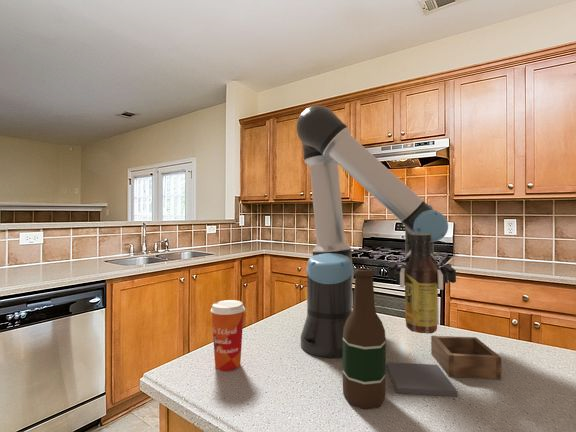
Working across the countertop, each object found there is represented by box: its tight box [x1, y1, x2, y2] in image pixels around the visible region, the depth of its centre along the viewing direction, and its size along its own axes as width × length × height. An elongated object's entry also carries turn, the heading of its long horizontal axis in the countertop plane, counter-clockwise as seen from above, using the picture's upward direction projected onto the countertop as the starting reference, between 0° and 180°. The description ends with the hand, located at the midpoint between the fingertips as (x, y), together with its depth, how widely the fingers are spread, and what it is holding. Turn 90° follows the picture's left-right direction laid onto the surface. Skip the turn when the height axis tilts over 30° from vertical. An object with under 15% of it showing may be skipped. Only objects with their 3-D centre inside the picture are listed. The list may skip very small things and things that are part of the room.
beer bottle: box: [342, 267, 387, 410], centre depth 61 cm, size 8×8×24 cm
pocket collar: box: [430, 335, 502, 380], centre depth 74 cm, size 10×11×4 cm
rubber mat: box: [386, 361, 458, 397], centre depth 67 cm, size 11×11×1 cm
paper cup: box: [210, 299, 246, 372], centre depth 74 cm, size 8×8×14 cm
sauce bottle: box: [404, 233, 439, 334], centre depth 67 cm, size 7×6×20 cm
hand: (421, 281), depth 62 cm, fingers closed on sauce bottle, 6 cm apart
